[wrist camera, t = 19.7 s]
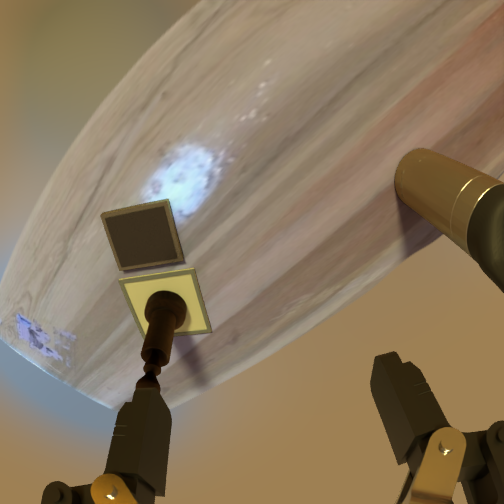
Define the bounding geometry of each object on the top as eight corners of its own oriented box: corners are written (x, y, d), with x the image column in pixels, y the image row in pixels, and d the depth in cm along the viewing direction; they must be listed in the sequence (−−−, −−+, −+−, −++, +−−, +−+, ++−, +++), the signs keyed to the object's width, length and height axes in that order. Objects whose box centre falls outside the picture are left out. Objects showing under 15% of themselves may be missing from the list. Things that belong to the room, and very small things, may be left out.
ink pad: (168, 198, 41) (166, 201, 40) (183, 257, 45) (182, 261, 44) (102, 212, 41) (99, 215, 40) (121, 267, 45) (119, 271, 44)
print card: (194, 267, 46) (193, 269, 46) (211, 330, 52) (211, 332, 51) (119, 278, 46) (118, 280, 46) (144, 337, 52) (143, 339, 51)
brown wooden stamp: (177, 328, 51) (163, 418, 35) (141, 313, 49) (114, 401, 33) (193, 299, 48) (181, 392, 32) (154, 283, 47) (126, 372, 31)
